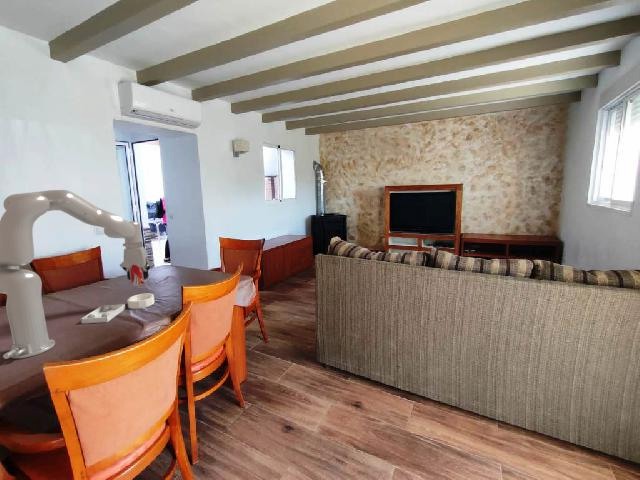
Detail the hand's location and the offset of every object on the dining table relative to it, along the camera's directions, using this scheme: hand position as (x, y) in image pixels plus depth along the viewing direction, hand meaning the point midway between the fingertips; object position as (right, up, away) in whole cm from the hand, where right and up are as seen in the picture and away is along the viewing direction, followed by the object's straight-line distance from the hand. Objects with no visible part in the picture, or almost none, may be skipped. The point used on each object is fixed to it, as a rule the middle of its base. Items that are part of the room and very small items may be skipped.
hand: (138, 278), depth 156 cm
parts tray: (-9, -17, -12) cm, 22 cm away
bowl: (0, -14, +2) cm, 14 cm away
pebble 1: (-12, -17, -17) cm, 27 cm away
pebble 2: (-12, -16, -6) cm, 21 cm away
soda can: (0, -3, +1) cm, 3 cm away
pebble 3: (-6, -17, -16) cm, 24 cm away
